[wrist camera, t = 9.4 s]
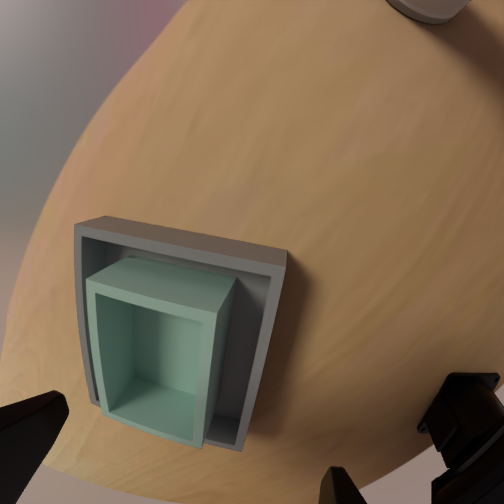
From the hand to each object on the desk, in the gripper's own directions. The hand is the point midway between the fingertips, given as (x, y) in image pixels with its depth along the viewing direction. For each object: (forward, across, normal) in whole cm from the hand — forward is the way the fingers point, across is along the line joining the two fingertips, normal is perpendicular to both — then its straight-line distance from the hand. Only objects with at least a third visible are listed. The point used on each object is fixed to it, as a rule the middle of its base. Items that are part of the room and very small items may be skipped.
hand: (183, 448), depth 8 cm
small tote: (+11, +4, +3) cm, 12 cm away
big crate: (+12, +4, +3) cm, 13 cm away
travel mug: (+12, -8, -24) cm, 28 cm away
